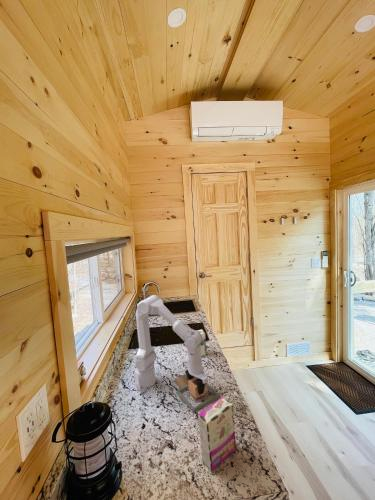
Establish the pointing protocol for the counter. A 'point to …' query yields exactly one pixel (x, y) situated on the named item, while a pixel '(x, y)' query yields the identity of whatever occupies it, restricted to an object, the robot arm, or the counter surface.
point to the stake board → (182, 381)
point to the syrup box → (203, 343)
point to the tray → (202, 402)
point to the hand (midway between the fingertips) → (197, 389)
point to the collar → (194, 388)
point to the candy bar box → (217, 433)
